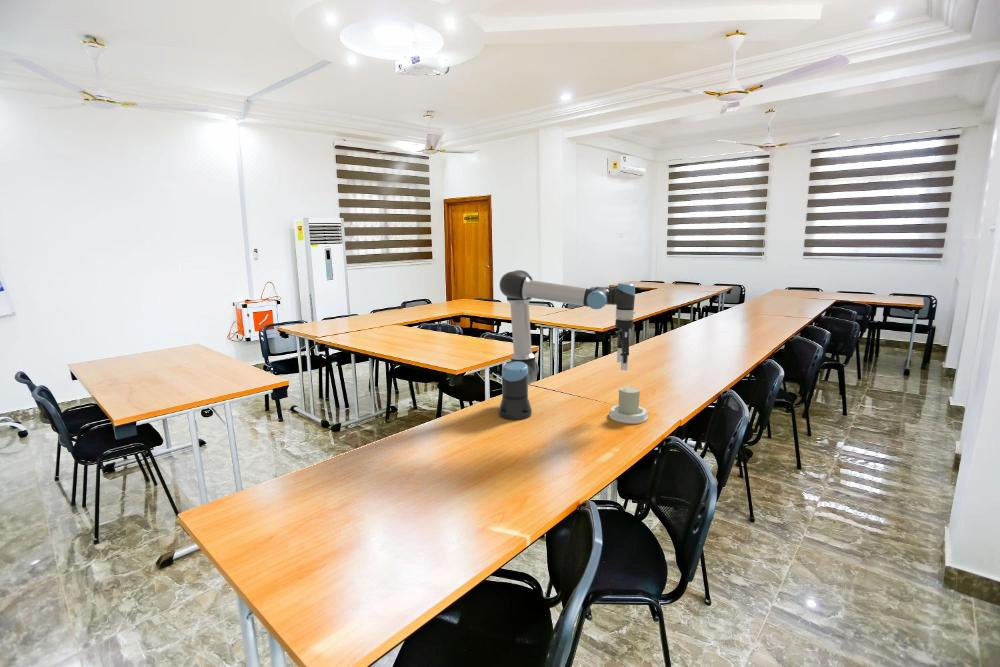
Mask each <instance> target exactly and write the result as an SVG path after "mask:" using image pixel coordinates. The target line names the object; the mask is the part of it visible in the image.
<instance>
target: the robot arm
mask: <svg viewBox="0 0 1000 667" xmlns="http://www.w3.org/2000/svg"><path fill="white" fill-rule="evenodd" d="M499 289H500V292H501V293H502V295H504V296H505V297H506V301H507V302H508V303H509V305H510V318H511V330H512V331H511V332H512V333H511V334H512V347H513V353H512V355H511V356H510V362H507V363H505V364H504V365H503V366H502V369H501V376H502V377H501V382H502V383H501V388H502V390H501V391H502V393H501V394H502V398H501V401H500V405H499V408H498V415H499V417H501V418H503V419H506V420H514V421H515V420H523V419H527V418H530V417H531V416H532V413H533V411H532V407H531V403H530V400H529V385H530V384H531V383H533V381H534V380H535V379H536V378H537V376H538V374H539V365H538V363H537V361H536V355H535V354H534V353H533V352H532V351H533V348H532V334H531V320H530V305H529V304H530V302H531V301H532V299H535V300H536V299H537V300H542V301H548V302H556V303H563V304H570V305H577V306H582V307H586V308H587V307H588V308H591V309H592V310H601V309H603V307H605V306H606V305H609V306H612V305H613V306H615V318H616V319H615V323H614V324H615V326H614V327H615V328H617V329H618V335H617V342H616V347H617V348H616V349H617V350H616V351H617V352H616V363H620V371H628V365H629V364H628V363H629V356H630V332H629V331H628V330H629V329H630V330H631V329H633V328H634V314H636V311H635V300H636V299H635V298H636V297H635V296H636V285H635V284H634V283H630V282H620V283H619V282H618V283H617V286H616V287H608V286H607V287H603V286H591V287H590V288H586V287H581V286H573V285H567V284H559V283H552V282H547V281H540V280H539V281H538V280H534V279H533V277H532V275H531V274H530V272H528V271H526V270H520V269H519V270H518V269H516V270H514V271H508V272H507V273H505V274H503V275H502V276H501V279H500V280H499Z"/></svg>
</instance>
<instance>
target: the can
mask: <svg viewBox="0 0 1000 667" xmlns="http://www.w3.org/2000/svg"><path fill="white" fill-rule="evenodd" d="M640 392H641V390H640V389H639V388H638V387H633V386H621V387H619V388H618V405H619V407H618V412H619V413H622V414H626V415H636V414H639V406H640Z"/></svg>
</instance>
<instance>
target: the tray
mask: <svg viewBox="0 0 1000 667" xmlns="http://www.w3.org/2000/svg"><path fill="white" fill-rule="evenodd" d="M618 407H619V404H614V405H613V406H611V407H610V411H609V412H608V416H609V419H611V420H613V421H615V422H617V423H620V424H621V423H622V424H629V425H633V424H634V425H636V424H638V425H639V424H643V423H645V422H647V421H648V420H649V414H648V411H647V409H646V408H644V407H642V406H640V405H639V414H636V415H626V414H622V413H619V412H618Z"/></svg>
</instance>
